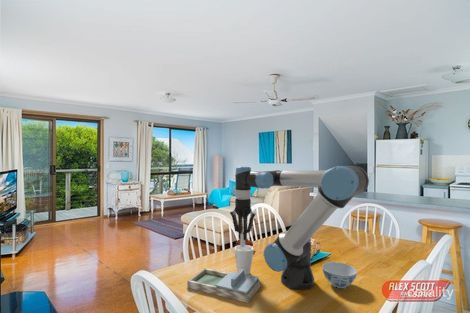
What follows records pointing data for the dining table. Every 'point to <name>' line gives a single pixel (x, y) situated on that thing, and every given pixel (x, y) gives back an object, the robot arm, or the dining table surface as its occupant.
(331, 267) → the chinaware
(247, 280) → the lid
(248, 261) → the foam cup
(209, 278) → the grey flat rectangular tray
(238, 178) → the robot arm
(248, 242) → the dragon fruit
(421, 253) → the dining table surface
